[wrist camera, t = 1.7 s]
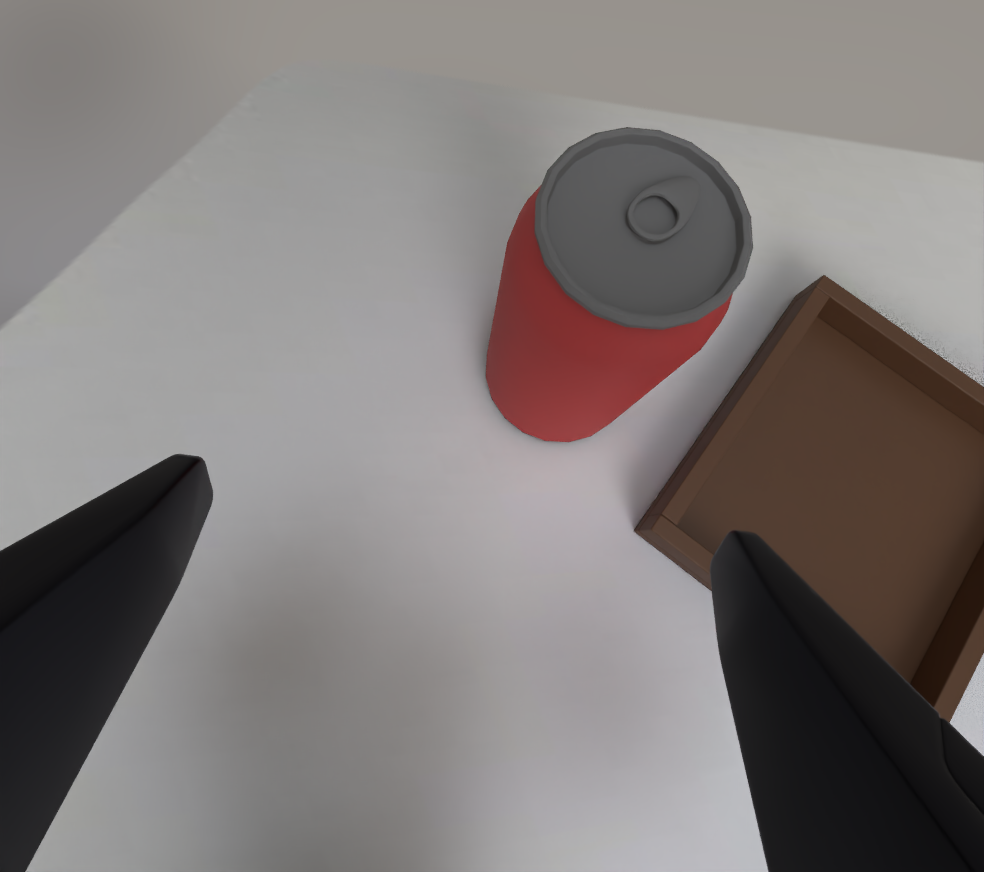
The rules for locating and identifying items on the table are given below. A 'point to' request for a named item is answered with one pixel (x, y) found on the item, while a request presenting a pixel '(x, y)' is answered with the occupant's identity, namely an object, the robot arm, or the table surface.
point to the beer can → (612, 279)
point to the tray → (850, 484)
